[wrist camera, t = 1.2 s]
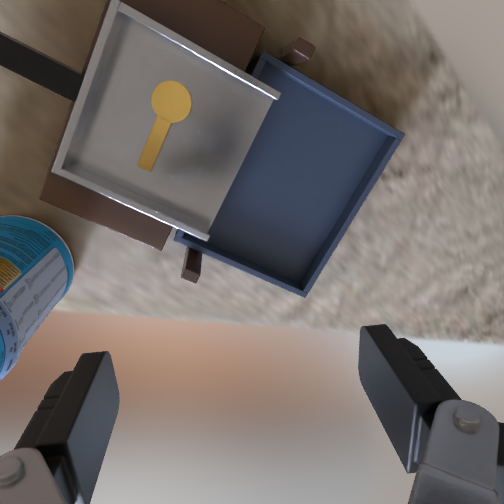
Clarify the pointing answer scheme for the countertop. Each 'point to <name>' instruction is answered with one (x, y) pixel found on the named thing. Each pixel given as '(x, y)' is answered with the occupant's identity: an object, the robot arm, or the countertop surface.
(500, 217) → the countertop surface
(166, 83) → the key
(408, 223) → the countertop surface
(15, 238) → the beverage bottle
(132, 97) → the grey dustpan
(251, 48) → the stand
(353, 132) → the tray
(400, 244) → the countertop surface
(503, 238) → the countertop surface
